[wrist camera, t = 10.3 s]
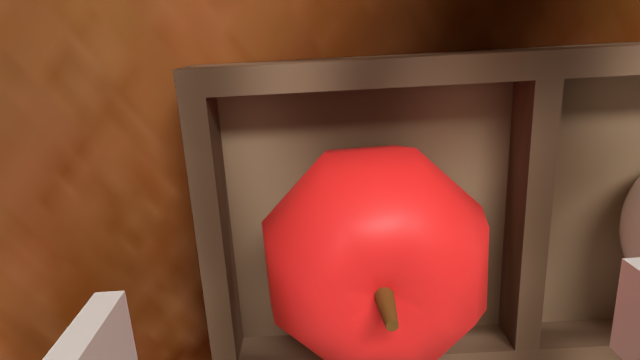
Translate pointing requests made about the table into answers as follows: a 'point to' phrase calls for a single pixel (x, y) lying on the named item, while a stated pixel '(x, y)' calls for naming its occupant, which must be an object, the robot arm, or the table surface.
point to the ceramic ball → (631, 223)
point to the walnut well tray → (449, 156)
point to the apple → (377, 257)
